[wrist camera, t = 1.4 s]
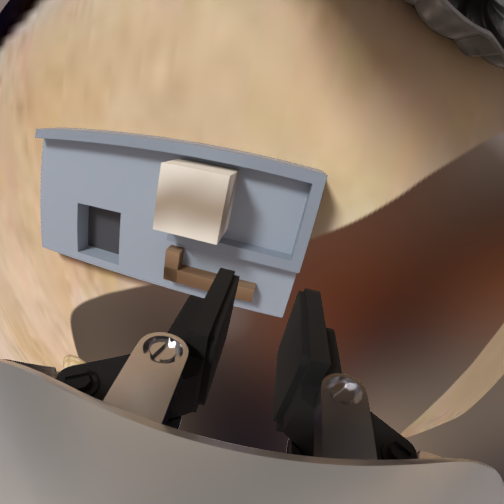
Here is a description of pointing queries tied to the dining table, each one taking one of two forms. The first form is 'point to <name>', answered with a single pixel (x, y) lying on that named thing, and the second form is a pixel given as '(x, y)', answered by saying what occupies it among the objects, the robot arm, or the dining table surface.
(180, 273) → the crook tool
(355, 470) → the robot arm
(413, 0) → the bundt pan
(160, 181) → the cream block
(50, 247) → the tray
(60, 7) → the dining table surface
